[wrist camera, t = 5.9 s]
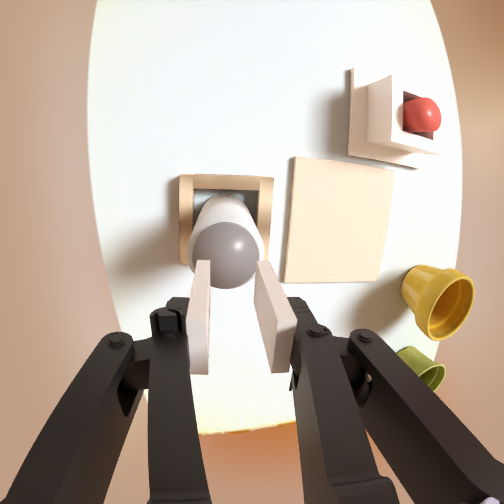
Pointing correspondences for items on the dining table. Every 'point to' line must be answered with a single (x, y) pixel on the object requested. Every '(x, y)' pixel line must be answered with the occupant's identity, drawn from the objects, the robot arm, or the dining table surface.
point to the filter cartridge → (226, 242)
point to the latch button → (421, 115)
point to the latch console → (388, 120)
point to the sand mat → (337, 221)
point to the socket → (223, 182)
